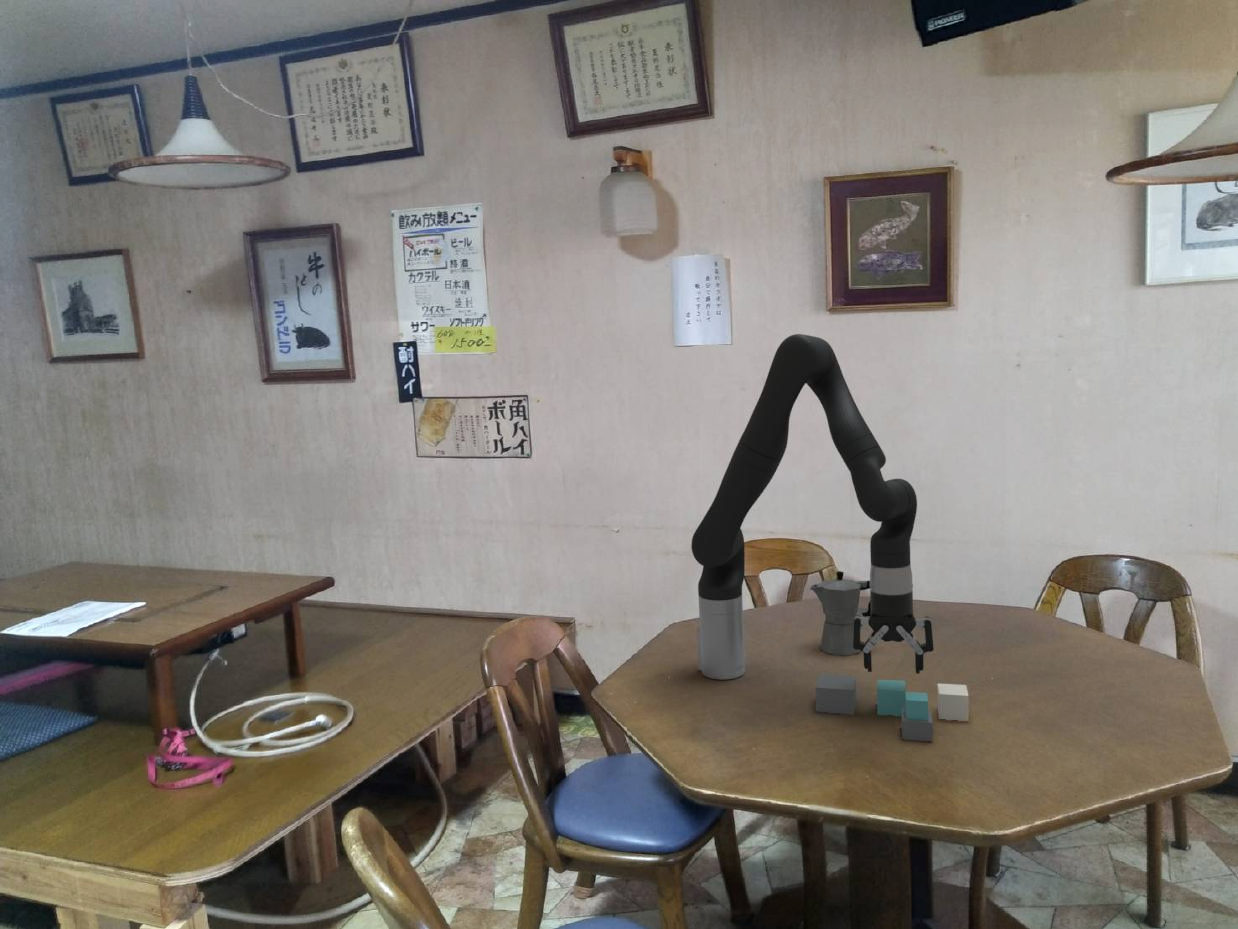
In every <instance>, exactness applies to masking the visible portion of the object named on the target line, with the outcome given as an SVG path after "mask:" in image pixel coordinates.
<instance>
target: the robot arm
mask: <svg viewBox="0 0 1238 929" xmlns="http://www.w3.org/2000/svg"><path fill="white" fill-rule="evenodd" d="M775 351H776V352H775V353H774V356H773V359H772V362H771V365H770V367H769V371H768V373H767V377H766V379H765V381H764V385H763V388H762V390H761V393H760V396H759V398H758V400H757V402H756V405H755V406H754V409H753V411H752V412H751V416H750V418H749V419H748V422H747V424H746V427H745V429H744V430H743V432H742V434H741V435H740V439H739V440H738V442H737V445H736V446H735V449H734V451H733V454H732V456H731V458H730V461H729V463H728V465H727V467H726V470H725V471H724V472H725V473H724V474H723V477H722V479H721V481H720V482H721V483H720V485H719V487H718V490H717V492H716V495H715V497H714V499H713V501H712V502H711V505H710V507H709V508H708V509H707V512H706V513H705V515H704V517H703V519H702V520H701V521H700V523H699V524H698V526H697V528H696V529H695V531H694V533H693V536H692V538H691V546H690V547H691V551H692V552H691V553H692V555H693V557H694V559H695V561H696V562H697V564H699V565H700V566H702V572H701V576H700V578H699V580H698V583H697V591H698V592H697V593H698V610H699V611H698V613H699V626H697V628H696V642H697V643H696V645H697V665H698V666H697V669H698V671H701V674H702V675H703V676H704V677H707V678H709V679H712V680H721V681H722V680H732V679H737V678H740V677H741V676H743V675H744V674H745V671H746V667H745V639H744V638H745V636H744V610H743V609H744V606H743V605H744V604H743V585H744V584H743V583H744V580H745V569H746V568H745V567H746V566H745V565H746V564H745V562H746V560H745V559H746V558H745V554H746V552H745V539H744V534H743V531H742V528H741V527H742V525H743V522H744V520H745V519H746V517H747V514H748V513H749V511H750V510H751V509H752V507H753V506H754V504H755V503H756V502H757V501H758V499H759V498H760V496H761V495H762V494H763V493H764V491H765V490H766V489H767V486H768V485H770V483H771V481H772V480H773V477H774V476H775V473H776V471H777V470H778V468H779V466H780V464H781V463H782V462H781V461H782V459H783V458H784V456H785V452H786V450H787V447H788V440H789V431H790V419H791V413H792V410H793V408H794V405H795V403H796V401H797V399H798V397H799V395H800V393H801V391H802V390H803V389H804V387H805V385H807V386H808V387H809V389H810V390H811V391H812V392H813V394H814V395H815V396H816V397H817V399H818V400H819V402H820V404H821V406H822V408H823V411H824V413H825V417H826V420H827V423H828V424H827V425H828V429H829V430H828V431H829V433H830V437H831V440H832V442H833V444H834V447H835V448H836V450H837V452H838V454H839V455H840V458H841V459H842V461H843V462H844V464H845V465H846V466H845V467H846V468H847V470H848V471H849V472H850V476H851V480H852V481H851V482H852V485H853V488H854V492H855V496H856V499H857V502H858V505H859V508H861V510H862V511H863V513H864V514H865V515H866V516H867V517H868V518H869V519H871V520H873V521H875V522H876V523H877V522H878V523H879V522H880V528H879V529H877V531H875V532H874V533H873V534H872V535H871V537H870V540H869V541H870V546H869V547H870V570H869V581H870V589H869V593H870V597H869V598H870V599H869V602H870V601H871V615H870V616H868V617H864V616H861V615H859V614H856V616H855V617H854V634H853V648H854V649H856V650H861V651H860V652H862V653H863V667H864V669H865V670H867V672H868V673H872V672H873V668H872V667H873V664H872V649H873V648H874V647H875V646H877V644H878V643H879V642H880V640H881V641H883V642H888V643H889V642H895V643H896V642H897V643H902V641H905V642H906V643H907V644H908V645H909V646H910V647H911V648H912V649H913V650H914V662H915V663H914V668H915V674H916V675H917V674H921V671H924V655H925V654H926V653H929V652H930V653H932V652H933V651H934V641H933V640H934V639H933V630H932V629H933V628H932V620H931V617H930V616H928V615H927V616H925V617H924V618H916V617H915V616H914V599H913V597H914V596H913V595H914V593H913V587H914V583H913V573H912V572H913V571H912V566H911V539H912V535H913V530H914V525H915V521H916V516H917V509H918V498H917V494H916V491H915V489H914V487H913V485H911V483H910V482H909V481H907V480H905V479H903V478H891V479H887V480H885V479H884V477H883V474H882V472H881V469H882V468H883V467H884V466H885V465H886V462H887V458H886V455H885V452H884V450H883V449H882V447H881V445H880V444H879V443H878V441H877V439H876V438H875V435H874V434H873V433H872V431H871V429H870V428H869V425H868V424H867V422H866V421H865V419H864V417H863V415H862V413H861V412H860V410H859V408H858V405H857V404H856V402H855V399H854V398H853V396H852V393H851V390H850V388H849V387H848V384H847V382H846V379H845V377H844V375H843V371H842V368H841V366H840V364H839V361H838V357H837V356H836V354H835V351H834V349H833V348H832V346H831V344H830V343H829V342H828V341H826V340H825V339H823V338H821V337H819V336H818V337H817V336H813V335H809V334H808V335H807V334H801V333H797V334H796V333H794V334H792V335H789V336H788V337H786V338H784V339H783V341H782V342H781V343H780V344H779V346H778V347H777V350H775ZM866 625H869V627H870V628H871V629H872V632H871V634H870V635H869V637H868V638H867V639H866V640H865V641H864V642H863V641H862V640H861V641H860V639H861V630H864V629H865V627H866ZM916 626H918V627H919V628H920V631H922V632H924V637H925V638H924V639H925V642H924V643H921V642H919V640H918V639H917V638H916V636H915V634H914V633H912V632H913V630H914V629H915V628H916Z"/></svg>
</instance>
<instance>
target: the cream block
mask: <svg viewBox="0 0 1238 929" xmlns="http://www.w3.org/2000/svg"><path fill="white" fill-rule="evenodd" d="M969 705H970V704H969V691H968V687H967V685H966V684H955V683H937V714H939V715H938V720H939V719H946V720H945V721H951V720H958V721H957V722H966V721H968V722H969V716H970V715H969V709H970V708H969Z"/></svg>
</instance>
